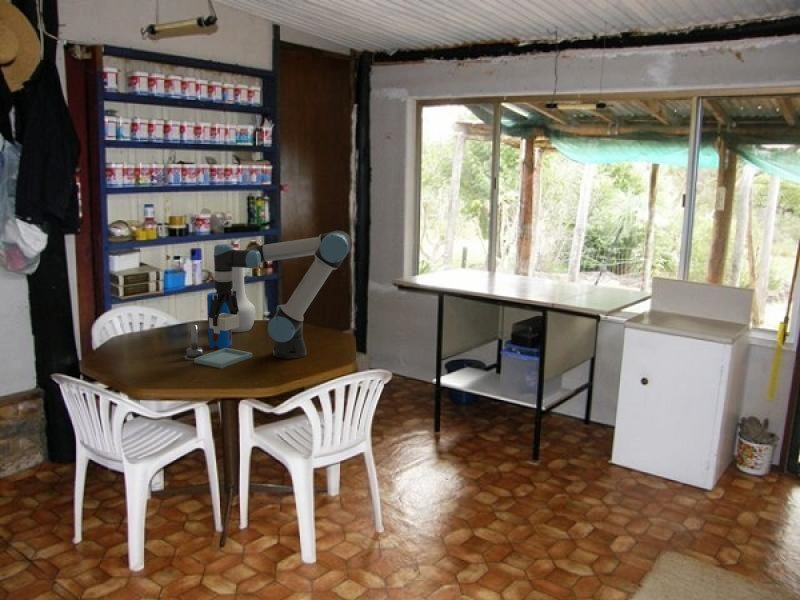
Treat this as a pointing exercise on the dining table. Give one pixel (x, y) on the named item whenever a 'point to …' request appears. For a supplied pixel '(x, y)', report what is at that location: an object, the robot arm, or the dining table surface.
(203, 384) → the dining table surface
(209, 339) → the thermos
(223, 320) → the ring
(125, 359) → the dining table surface
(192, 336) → the stake
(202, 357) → the tray
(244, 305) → the vase
